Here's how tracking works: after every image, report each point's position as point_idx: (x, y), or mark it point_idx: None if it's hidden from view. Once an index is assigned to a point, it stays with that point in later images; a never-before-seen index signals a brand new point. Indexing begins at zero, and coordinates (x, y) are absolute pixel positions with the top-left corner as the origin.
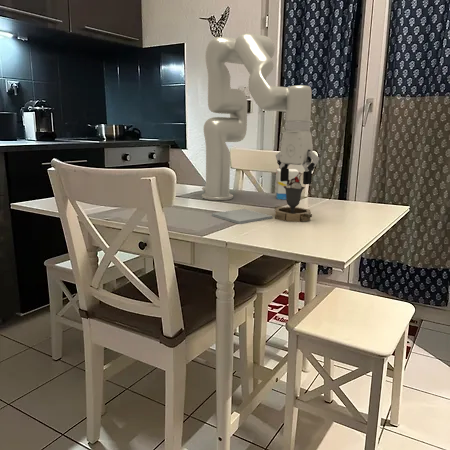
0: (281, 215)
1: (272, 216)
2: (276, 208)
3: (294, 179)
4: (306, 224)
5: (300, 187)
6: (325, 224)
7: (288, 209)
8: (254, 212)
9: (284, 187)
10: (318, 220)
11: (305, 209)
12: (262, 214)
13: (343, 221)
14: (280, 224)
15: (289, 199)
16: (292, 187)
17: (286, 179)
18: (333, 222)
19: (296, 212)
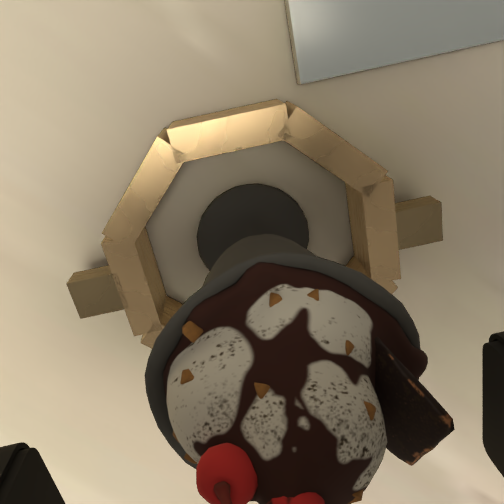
0: (211, 116)
1: (299, 81)
2: (380, 177)
3: (277, 463)
4: (33, 216)
5: (170, 418)
6: (4, 331)
7: None
8: (493, 5)
9: (327, 267)
10: (125, 353)
11: None
12: (389, 29)
13: (57, 461)
14: (82, 17)
15: (240, 248)
16: (219, 334)
17: (495, 430)
18: (47, 401)
19: None
